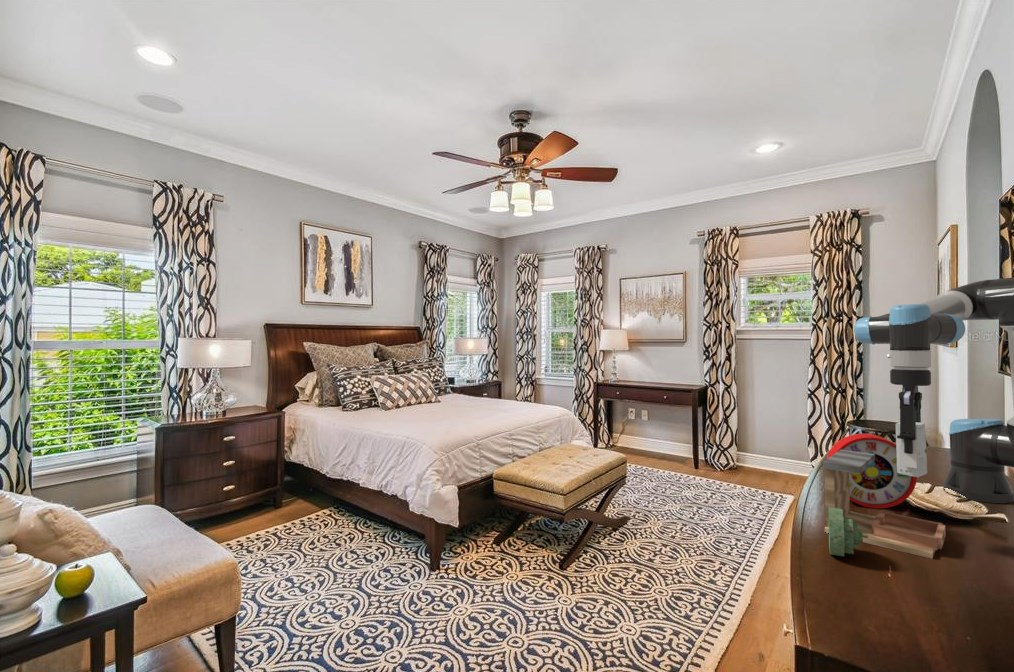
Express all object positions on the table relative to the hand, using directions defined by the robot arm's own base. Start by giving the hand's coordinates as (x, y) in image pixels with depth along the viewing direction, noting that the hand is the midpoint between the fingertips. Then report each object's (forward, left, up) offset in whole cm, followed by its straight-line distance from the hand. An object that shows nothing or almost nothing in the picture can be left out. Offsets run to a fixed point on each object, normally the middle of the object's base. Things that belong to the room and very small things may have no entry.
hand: (911, 464), depth 114 cm
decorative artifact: (+22, -9, -18) cm, 30 cm away
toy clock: (-21, -12, -18) cm, 30 cm away
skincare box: (0, 0, -2) cm, 2 cm away
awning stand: (+2, -5, -18) cm, 19 cm away
